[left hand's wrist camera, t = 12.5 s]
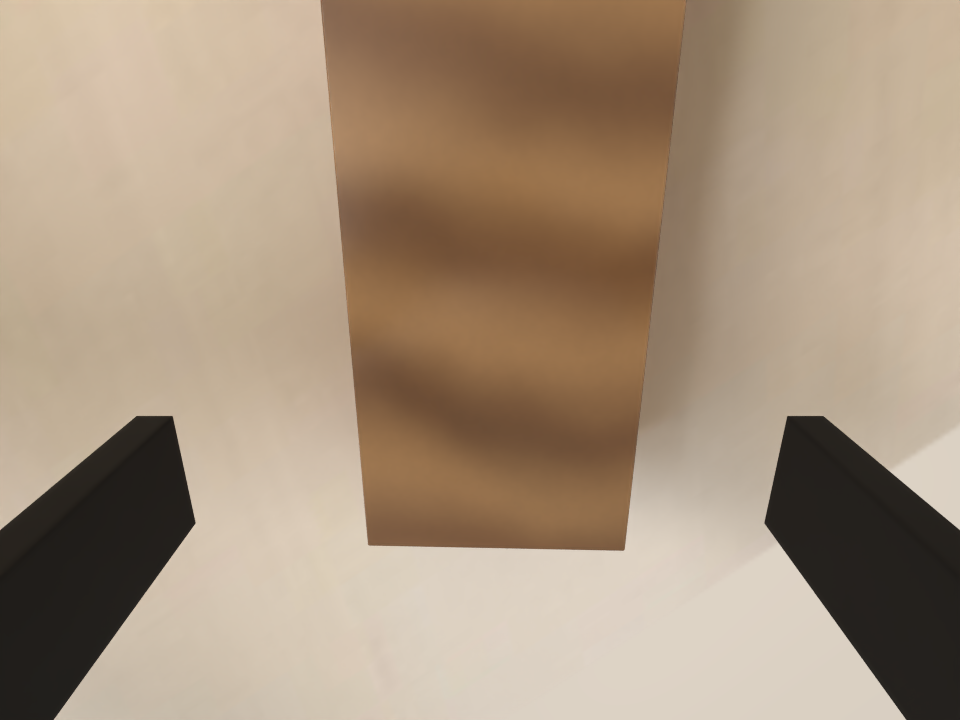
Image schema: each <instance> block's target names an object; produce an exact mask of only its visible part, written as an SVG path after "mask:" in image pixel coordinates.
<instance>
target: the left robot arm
mask: <svg viewBox="0 0 960 720" xmlns="http://www.w3.org/2000/svg"><path fill="white" fill-rule="evenodd" d="M194 525H195V518H194V514H193V509H192V504H191V500H190V495H189V490H188V486H187V481H186V476H185V472H184V467H183V462H182V458H181V453H180V448H179V444H178V439H177V434H176V430H175V425H174V420H173V416H136V417H135V418H134V419H133V420H132V421H130V422H129V423H128V424H127V425H126V426H124V427H123V428H122V429H121V430H120V431H118V432H117V433H116V434H115V435H114V436H112V437H111V438H110V439H109V440H108V441H106V442H105V443H104V444H103V445H102V446H100V447H99V448H98V449H97V450H96V451H94V452H93V453H92V454H91V455H90V456H88V457H87V458H86V459H85V460H84V461H82V462H81V463H80V464H79V465H78V466H76V467H75V468H74V469H73V470H72V471H70V472H69V473H68V474H67V475H66V476H65V477H63V478H62V479H61V480H60V481H59V482H57V483H56V484H55V485H54V486H53V487H51V488H50V489H49V490H48V491H47V492H45V493H44V494H43V495H42V496H41V497H39V498H38V499H37V500H36V501H35V502H33V503H32V504H31V505H30V506H29V507H27V508H26V509H25V510H24V511H23V512H21V513H20V514H19V515H18V516H17V517H15V518H14V519H13V520H12V521H11V522H9V523H8V524H7V525H6V526H5V527H3V528H2V529H1V530H0V720H54V718H55V717H56V716H57V714H58V713H59V712H60V710H61V709H62V707H63V706H64V705H65V703H66V702H67V700H68V699H69V698H70V696H71V695H72V694H73V692H74V691H75V689H76V688H77V687H78V685H79V684H80V682H81V681H82V680H83V678H84V677H85V676H86V674H87V673H88V671H89V670H90V669H91V667H92V666H93V664H94V663H95V662H96V660H97V659H98V658H99V656H100V655H101V653H102V652H103V651H104V649H105V648H106V646H107V645H108V644H109V642H110V641H111V640H112V638H113V637H114V635H115V634H116V633H117V631H118V630H119V628H120V627H121V626H122V624H123V623H124V622H125V620H126V619H127V617H128V616H129V615H130V613H131V612H132V610H133V609H134V608H135V606H136V605H137V604H138V602H139V601H140V599H141V598H142V597H143V595H144V594H145V592H146V591H147V590H148V588H149V587H150V586H151V584H152V583H153V581H154V580H155V579H156V577H157V576H158V574H159V573H160V572H161V570H162V569H163V568H164V566H165V565H166V563H167V562H168V561H169V559H170V558H171V556H172V555H173V554H174V552H175V551H176V550H177V548H178V547H179V545H180V544H181V543H182V541H183V540H184V538H185V537H186V536H187V534H188V533H189V532H190V530H191V529H192V527H193V526H194ZM765 525H766V526H767V527H768V529H769V530H770V532H771V533H772V534H773V536H774V537H775V538H776V540H777V541H778V543H779V544H780V545H781V547H782V548H783V550H784V551H785V552H786V554H787V555H788V556H789V558H790V559H791V561H792V562H793V563H794V565H795V566H796V568H797V569H798V570H799V572H800V573H801V574H802V576H803V577H804V579H805V580H806V581H807V583H808V584H809V586H810V587H811V588H812V590H813V591H814V592H815V594H816V595H817V597H818V598H819V599H820V601H821V602H822V604H823V605H824V606H825V608H826V609H827V610H828V612H829V613H830V615H831V616H832V617H833V619H834V620H835V622H836V623H837V624H838V626H839V627H840V628H841V630H842V631H843V633H844V634H845V635H846V637H847V638H848V640H849V641H850V642H851V644H852V645H853V646H854V648H855V649H856V651H857V652H858V653H859V655H860V656H861V658H862V659H863V660H864V662H865V663H866V664H867V666H868V667H869V669H870V670H871V671H872V673H873V674H874V675H875V677H876V678H877V680H878V681H879V682H880V684H881V685H882V687H883V688H884V689H885V691H886V692H887V694H888V695H889V696H890V698H891V699H892V700H893V702H894V703H895V705H896V706H897V707H898V709H899V710H900V712H901V713H902V714H903V716H904V717H905V718H906V720H960V530H959V529H958V528H957V527H955V526H954V525H953V524H952V523H951V522H949V521H948V520H947V519H946V518H945V517H943V516H942V515H941V514H940V513H938V512H937V511H936V510H935V509H934V508H933V507H931V506H930V505H929V504H928V503H927V502H925V501H924V500H923V499H922V498H921V497H919V496H918V495H917V494H916V493H915V492H913V491H912V490H911V489H910V488H909V487H907V486H906V485H905V484H904V483H903V482H901V481H900V480H899V479H898V478H897V477H895V476H894V475H893V474H892V473H891V472H890V471H888V470H887V469H886V468H885V467H884V466H882V465H881V464H880V463H879V462H878V461H876V460H875V459H874V458H873V457H872V456H870V455H869V454H868V453H867V452H866V451H864V450H863V449H862V448H861V447H860V446H858V445H857V444H856V443H855V442H854V441H852V440H851V439H850V438H849V437H848V436H846V435H845V434H844V433H843V432H842V431H840V430H839V429H838V428H837V427H836V426H834V425H833V424H832V423H831V422H830V421H828V420H827V419H826V418H825V417H824V416H787V420H786V425H785V430H784V434H783V439H782V444H781V448H780V453H779V458H778V462H777V467H776V472H775V476H774V481H773V486H772V490H771V495H770V500H769V504H768V509H767V514H766V518H765Z"/></svg>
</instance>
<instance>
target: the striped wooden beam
mask: <svg viewBox="0 0 960 720" xmlns="http://www.w3.org/2000/svg"><path fill="white" fill-rule="evenodd" d="M685 8H686V0H321V11H322V22H323V34H324V45H325V57H326V68H327V79H328V91H329V102H330V114H331V125H332V137H333V148H334V160H335V171H336V183H337V194H338V206H339V217H340V228H341V240H342V251H343V263H344V274H345V286H346V297H347V309H348V320H349V332H350V343H351V354H352V366H353V377H354V389H355V400H356V412H357V423H358V435H359V446H360V458H361V469H362V481H363V492H364V503H365V515H366V526H367V538H368V545H373V546H422V547H472V548H521V549H570V550H619V551H623V550H624V549H625V541H626V532H627V523H628V514H629V505H630V497H631V488H632V479H633V470H634V461H635V452H636V443H637V434H638V426H639V417H640V408H641V399H642V390H643V381H644V372H645V363H646V355H647V346H648V337H649V328H650V319H651V310H652V301H653V292H654V284H655V275H656V266H657V257H658V248H659V239H660V230H661V221H662V213H663V204H664V195H665V186H666V177H667V168H668V159H669V150H670V142H671V133H672V124H673V115H674V106H675V97H676V88H677V79H678V71H679V62H680V53H681V44H682V35H683V26H684V17H685Z"/></svg>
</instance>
